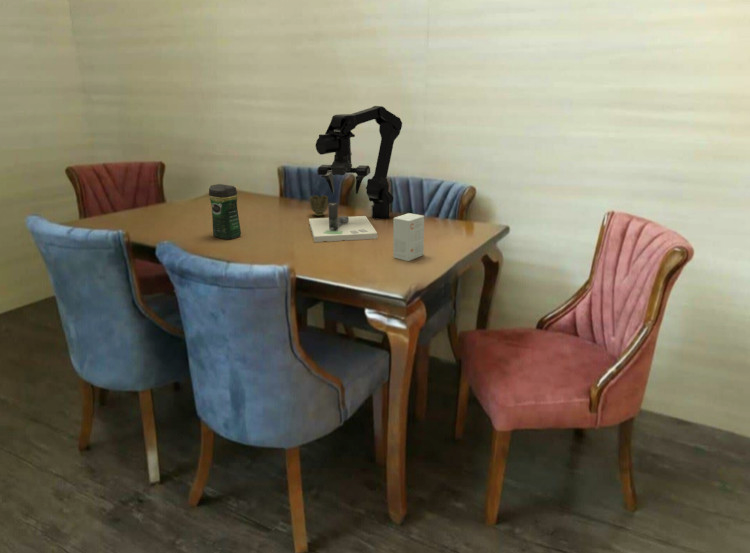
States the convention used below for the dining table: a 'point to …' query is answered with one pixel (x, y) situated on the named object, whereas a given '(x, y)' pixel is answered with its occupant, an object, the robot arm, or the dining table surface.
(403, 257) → the small box
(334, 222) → the dark knobbed cylinder
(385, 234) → the dining table surface
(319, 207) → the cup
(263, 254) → the dining table surface
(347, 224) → the dial plate
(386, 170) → the robot arm
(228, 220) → the coffee jar
